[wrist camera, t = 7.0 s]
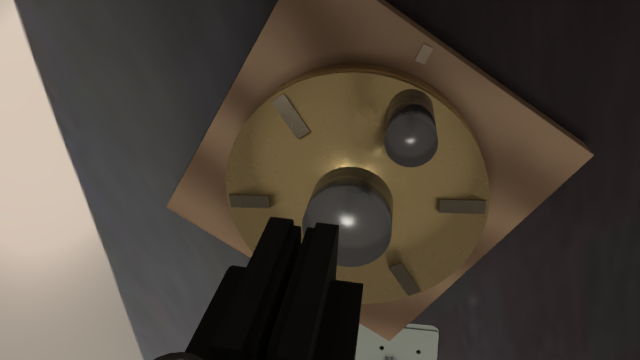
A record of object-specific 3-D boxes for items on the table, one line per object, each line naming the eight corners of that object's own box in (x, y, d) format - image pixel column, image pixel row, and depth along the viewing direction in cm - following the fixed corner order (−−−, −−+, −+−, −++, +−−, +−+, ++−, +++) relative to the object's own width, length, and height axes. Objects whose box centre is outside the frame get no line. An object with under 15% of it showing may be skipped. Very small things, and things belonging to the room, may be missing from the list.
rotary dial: (518, 85, 26) (551, 130, 20) (449, 301, 33) (458, 379, 28) (239, 44, 27) (193, 75, 21) (235, 260, 35) (200, 325, 29)
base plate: (312, -52, 26) (304, -50, 24) (582, 141, 29) (595, 156, 27) (178, 193, 36) (165, 208, 34) (390, 322, 38) (389, 343, 36)
